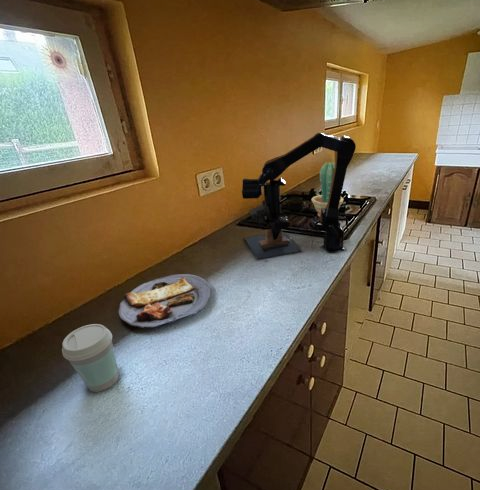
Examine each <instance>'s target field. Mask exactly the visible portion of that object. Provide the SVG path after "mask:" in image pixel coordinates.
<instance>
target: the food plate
mask: <svg viewBox="0 0 480 490" xmlns="http://www.w3.org/2000/svg"><path fill="white" fill-rule="evenodd" d="M210 296H211V288H210V285H209V284H208V281H206V279H205V278H202V277H200V276H198V275H195V274H189V273H182V274H170V275H169V274H168V275H165V276H161V277H158V278H155V279H152V280H149V281H147V282H144V283H142V284H140V285H138V286H137V287H135V288H133V289H132V290H131V291H130V292H129V291H128V292H126V293H124V295H123V299H122V301H120V303H119V306H118V309H117V314H118V317H119V320H121V321H122V322H124V323H125V324H127V325H128V326H129V327H135V328H136V329H138V328H140V329H143V328H145V327H146V328H147V329H152V328H156V327H159V326H162V325H166V324H170V323H174V322H176V321H178V320H181V319H184V318H185V317H188V316H193V315H196V314H197V313H199V312H200V311H201V310H202V309H204V307H205V306H206V305H207V304H208V299H209V298H210Z"/></svg>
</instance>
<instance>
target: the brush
mask: <svg viewBox="0 0 480 490" xmlns="http://www.w3.org/2000/svg"><path fill="white" fill-rule="evenodd" d="M282 232H283V228H282V229H281V231H280V233H279V236H278V238H277V239H276V240H274V239H273V234H272V229H269V228H268V229H265V230H264V235H265V240H261V241H259V245H260V248H261V249H262V251H264V250H270V249H275V248H281V247H286V246H288V243H289V239H290V238H289V237H288V238H289V239H288V238H287V237H286V236H284V237H282Z"/></svg>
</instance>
